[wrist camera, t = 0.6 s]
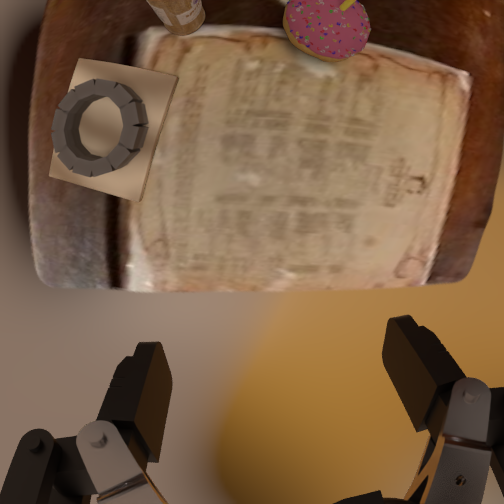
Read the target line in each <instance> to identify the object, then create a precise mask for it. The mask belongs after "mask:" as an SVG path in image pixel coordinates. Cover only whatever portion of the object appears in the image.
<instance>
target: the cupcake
mask: <svg viewBox="0 0 504 504" xmlns="http://www.w3.org/2000/svg"><path fill="white" fill-rule="evenodd" d="M362 6H363V5H361V4H360V3H359V2H358V1H357V0H289V1H288V2H287V5H286V7H285V11H284V17H283V27H284V29H285V31H286V34H287V36H288V38H289V40H290V42H291V43H292V44H293V45H294V46H295V47H297V48H298V49H300V50H301V51H303V52H305V53H307V54H309V55H311V56H314V57H317V58H319V59H320V60H322V61H326V62H338V61H342V60H345V59H347V58H349V57H351V56H354V55H355V54H357V53H359V52H360V51H362V50H363V49H364V47H365V45H366V43H367V39H368V36H369V33H370V30H371V28H370V23H369V17H368V16H367V13H366V12H365V8H363V7H364V6H363V7H362Z"/></svg>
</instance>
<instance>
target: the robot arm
mask: <svg viewBox="0 0 504 504" xmlns="http://www.w3.org/2000/svg"><path fill="white" fill-rule="evenodd" d="M382 359H383V364H384V367H385V369H386V371H387V373H388V375H389V377H390V379H391V381H392V382H393V385H394V386H395V388H396V391H397V393H398V395H399V397H400V399H401V401H402V403H403V404H404V407H405V409H406V411H407V413H408V415H409V417H410V419H411V422H412V423H413V426H414V428H415V430H416V432H419V431H423V430H426V429H428V431H429V433H430V436H429V437H428V440H427V443H426V446H425V449H424V452H423V455H422V458H421V461H420V464H419V467H418V469H417V472H416V475H415V477H414V480H413V482H412V484H411V486H410V488H409V489H408V491H407V493H406V495H405V497H404V499H397V498H383V497H382V494H381V491H380V490H378V491H375V492H371V493H367V494H363V495H359V496H355V497H350V498H346V499H343V500H341V501H338V502H336V503H334V504H481V502H482V498H483V494H484V490H485V485H486V480H487V475H488V471H489V465H490V466H491V468H492V470H493V473H494V475H495V477H496V480H497V482H498V484H499V487H500V489H501V492H502V494H503V497H504V387H499V388H488V386H487V385H486V384H485V383H484V382H482V381H481V380H479V379H476V378H469V377H468V378H467V377H466V376H465V374H464V373H463V372H462V370H461V369H460V368H459V366H458V364H457V363H456V362H455V360H454V359H453V358H452V356H451V355H450V354H449V352H448V351H446V348H445V347H444V345H443V344H441V342H440V340H439V339H438V338H437V336H436V335H435V334H434V333H433V332H432V331H430V330H429V329H427V328H426V327H424V326H418V325H417V323H416V322H415V321H414V319H413V318H412V317H411V316H410V315H404V316H399V317H393V318H390V319H389V320H388V323H387V328H386V334H385V339H384V344H383V351H382ZM171 392H172V375H171V371H170V368H169V365H168V362H167V359H166V356H165V353H164V350H163V347H162V344H161V343H160V342H139V343H138V345H137V347H136V350H135V352H134V355H133V356H126V357H125V358H124V359H123V360H122V362H121V363H120V364H119V365H118V366H117V368H116V370H115V373H114V375H113V379H112V380H111V383H110V388H108V390H107V393H106V395H105V399H104V401H103V403H102V406H101V409H100V411H99V414H98V417H97V419H96V421H93V422H90V423H88V424H86V425H85V426H84V427H83V428H82V429H81V430H80V431H79V433H78V435H77V436H73V437H66V438H57V439H54V437H53V436H52V435H51V434H50V433H49V432H48V431H46V430H44V429H34V430H31V431H29V432H27V433H26V434H25V435H24V436H23V437H22V438H21V440H20V442H19V444H18V447H17V449H16V452H15V454H14V457H13V459H12V462H11V465H10V468H9V470H8V473H7V476H6V478H5V481H4V484H3V487H2V490H1V493H0V504H90V500H91V495H92V494H99V497H97V503H98V504H168V502H167V501H166V500H165V498H164V497H163V496H162V494H161V493H160V492H159V490H158V488H157V487H156V486H155V484H154V483H153V481H152V480H151V478H150V477H149V475H148V474H147V473H146V468H147V463H148V462H155V463H158V462H159V457H160V452H161V446H162V440H163V435H164V429H165V424H166V418H167V413H168V408H169V402H170V397H171Z"/></svg>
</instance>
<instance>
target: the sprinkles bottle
mask: <svg viewBox="0 0 504 504" xmlns="http://www.w3.org/2000/svg"><path fill="white" fill-rule="evenodd" d="M147 1H148V3H149V4H150V6H151V7H152V8H153V10H154V11H155V13H156V14H157V15H158V17H159V18H160V19H161V21H162V22H164V25H165V27H166V28H167V29H168V30H169V31H170V32H172V33H174V34H178V35H187V34H190V33H192V32H194V31H196V30H197V29H198V28H200V26H201V25H202V23H203V22H204V20H205V11H204V9H203V7H202V3H201V0H147Z"/></svg>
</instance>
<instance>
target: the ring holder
mask: <svg viewBox="0 0 504 504" xmlns="http://www.w3.org/2000/svg"><path fill="white" fill-rule="evenodd" d="M178 80H179V78H178V77H177V76H173V75H169V74H164V73H160V72H156V71H151V70H146V69H142V68H137V67H131V66H126V65H121V64H115V63H109V62H103V61H96V60H89V59H82V58H79V60H78V63H77V66H76V68H75V71H74V75H73V78H72V81H71V84H70V87H69V91H68V93H67V95H66V96H65V97H64V98H63V100H62V101H61V102H60V103H59V105H58V106H59V107H60V108H61V109H56V111H55V115H54V119H53V124H52V128H51V130H56V131H55V132H53V133H51V135H52V140H53V145H54V151H53V156H52V161H51V167H50V172H49V176H51V177H54V178H57V179H61V180H64V181H68V182H71V183H75V184H78V185H81V186H85V187H88V188H91V189H95V190H98V191H102V192H105V193H108V194H112V195H115V196H118V197H122V198H125V199H128V200H132V201H135V202H138V203H139V202H140V201H141V200H142V197H143V193H144V189H145V185H146V181H147V177H148V174H149V170H150V166H151V163H152V159H153V156H154V152H155V149H156V146H157V142H158V139H159V136H160V133H161V129H162V126H163V123H164V120H165V117H166V114H167V111H168V108H169V105H170V102H171V99H172V96H173V93H174V91H175V88H176V85H177V82H178Z"/></svg>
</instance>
